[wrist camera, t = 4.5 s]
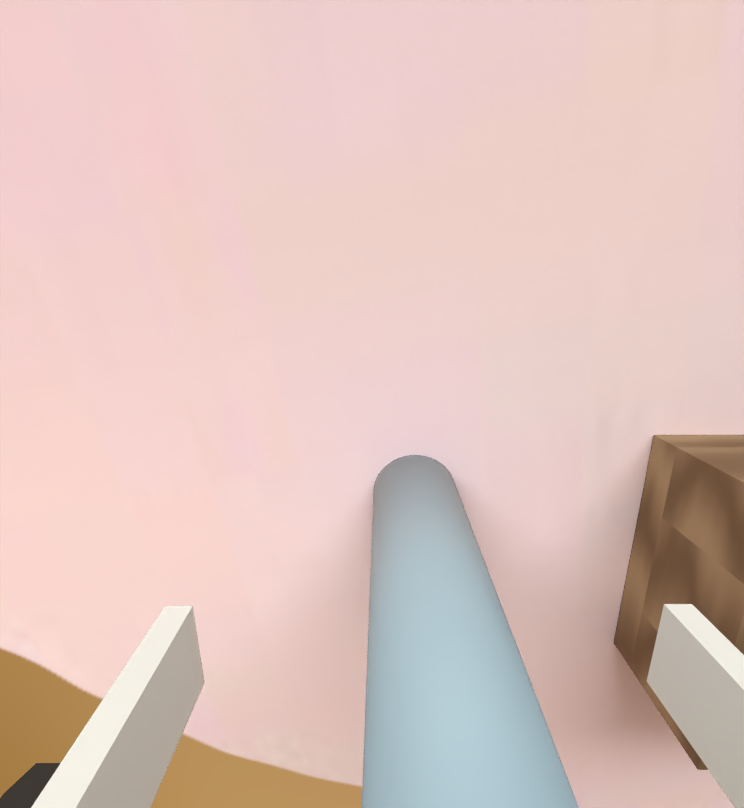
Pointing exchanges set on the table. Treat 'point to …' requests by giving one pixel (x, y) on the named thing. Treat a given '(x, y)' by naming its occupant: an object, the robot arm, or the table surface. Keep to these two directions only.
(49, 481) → the table surface
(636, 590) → the socket block
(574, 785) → the table surface
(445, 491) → the pin
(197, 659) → the robot arm
